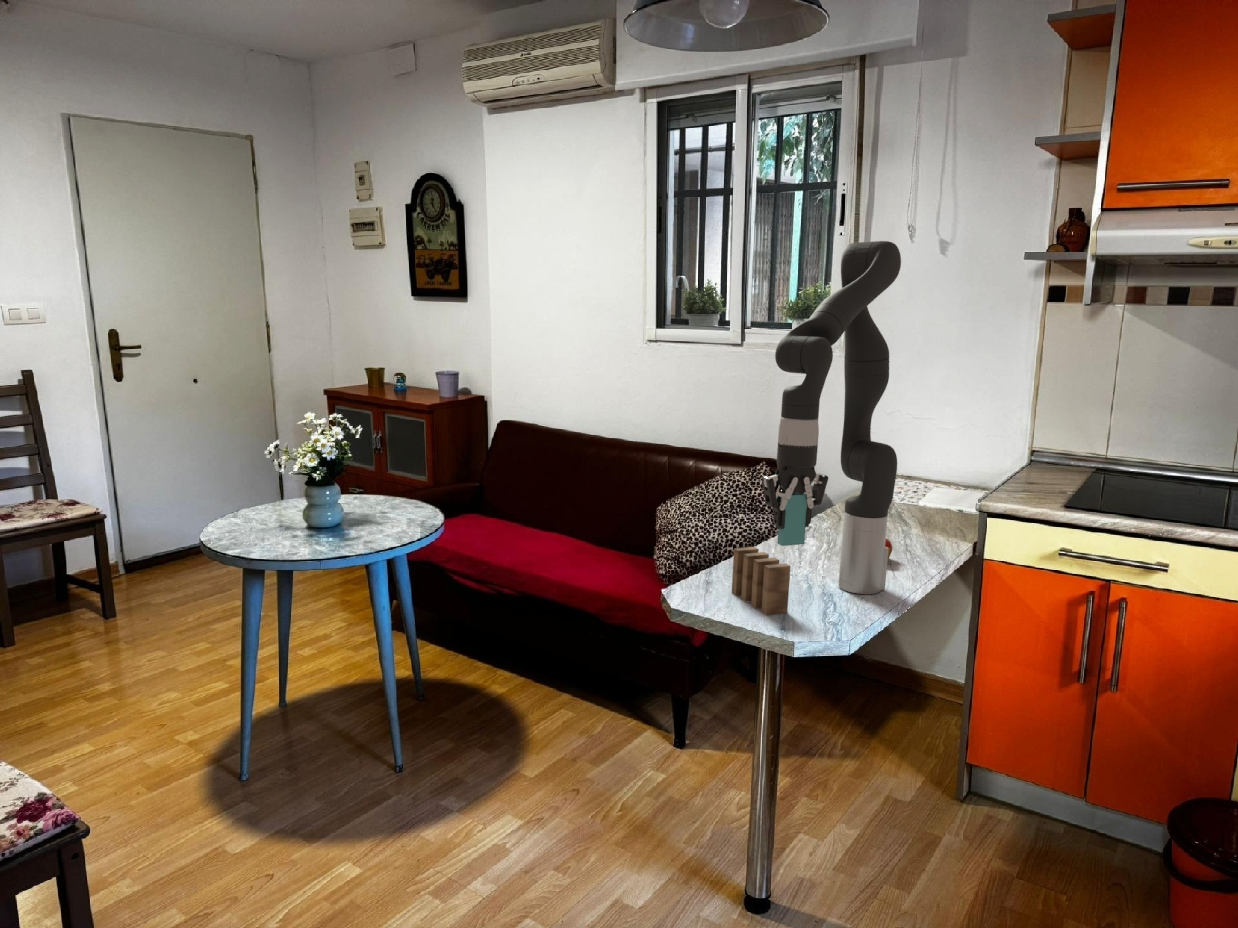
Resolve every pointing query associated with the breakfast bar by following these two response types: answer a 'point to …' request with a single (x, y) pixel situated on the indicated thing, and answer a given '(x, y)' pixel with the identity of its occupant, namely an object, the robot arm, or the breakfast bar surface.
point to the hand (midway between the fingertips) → (791, 526)
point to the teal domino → (794, 521)
